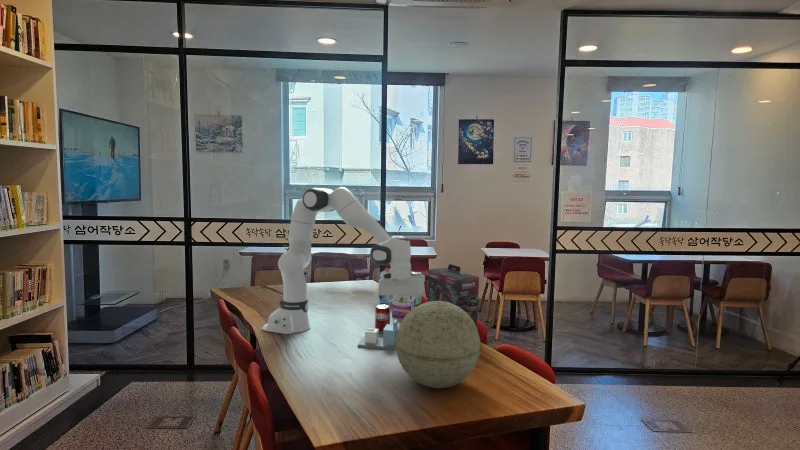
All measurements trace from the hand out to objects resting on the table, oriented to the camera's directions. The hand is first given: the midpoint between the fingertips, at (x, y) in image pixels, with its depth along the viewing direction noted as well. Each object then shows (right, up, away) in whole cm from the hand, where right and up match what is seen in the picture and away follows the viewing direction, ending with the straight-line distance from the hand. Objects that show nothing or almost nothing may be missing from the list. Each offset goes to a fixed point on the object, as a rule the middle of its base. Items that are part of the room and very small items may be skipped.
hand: (401, 304), depth 200 cm
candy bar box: (+1, -15, +47) cm, 49 cm away
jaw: (-13, -17, +4) cm, 22 cm away
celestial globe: (+13, -23, -35) cm, 44 cm away
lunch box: (-1, -13, +70) cm, 71 cm away
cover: (-5, -17, +3) cm, 18 cm away
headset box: (+24, -18, +21) cm, 36 cm away
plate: (-10, -18, +4) cm, 21 cm away
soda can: (-9, -17, +23) cm, 30 cm away
